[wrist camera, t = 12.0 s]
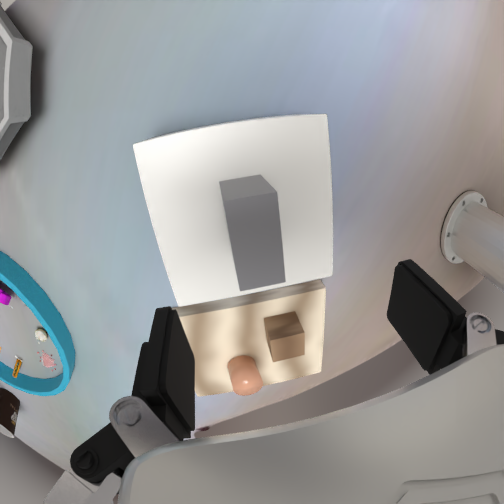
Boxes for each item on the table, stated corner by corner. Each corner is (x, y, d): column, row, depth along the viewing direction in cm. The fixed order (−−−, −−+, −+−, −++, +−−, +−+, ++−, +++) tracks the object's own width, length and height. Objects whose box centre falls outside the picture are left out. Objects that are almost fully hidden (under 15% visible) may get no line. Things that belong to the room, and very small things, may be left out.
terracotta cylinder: (257, 369, 38) (265, 389, 34) (231, 377, 37) (237, 398, 34) (252, 351, 36) (260, 372, 32) (224, 360, 35) (229, 382, 32)
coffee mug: (23, 410, 42) (13, 440, 33) (-4, 393, 38) (-15, 422, 29) (25, 395, 39) (13, 429, 30) (-5, 375, 35) (-19, 407, 26)
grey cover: (294, 114, 25) (361, 115, 14) (305, 239, 32) (356, 308, 20) (153, 137, 24) (109, 153, 13) (183, 262, 31) (175, 347, 19)
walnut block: (295, 311, 34) (304, 332, 30) (295, 333, 36) (304, 354, 32) (263, 317, 33) (270, 340, 30) (266, 340, 35) (272, 362, 32)
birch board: (319, 279, 35) (325, 287, 33) (317, 362, 43) (320, 371, 41) (163, 309, 33) (161, 319, 31) (197, 386, 41) (198, 396, 39)
